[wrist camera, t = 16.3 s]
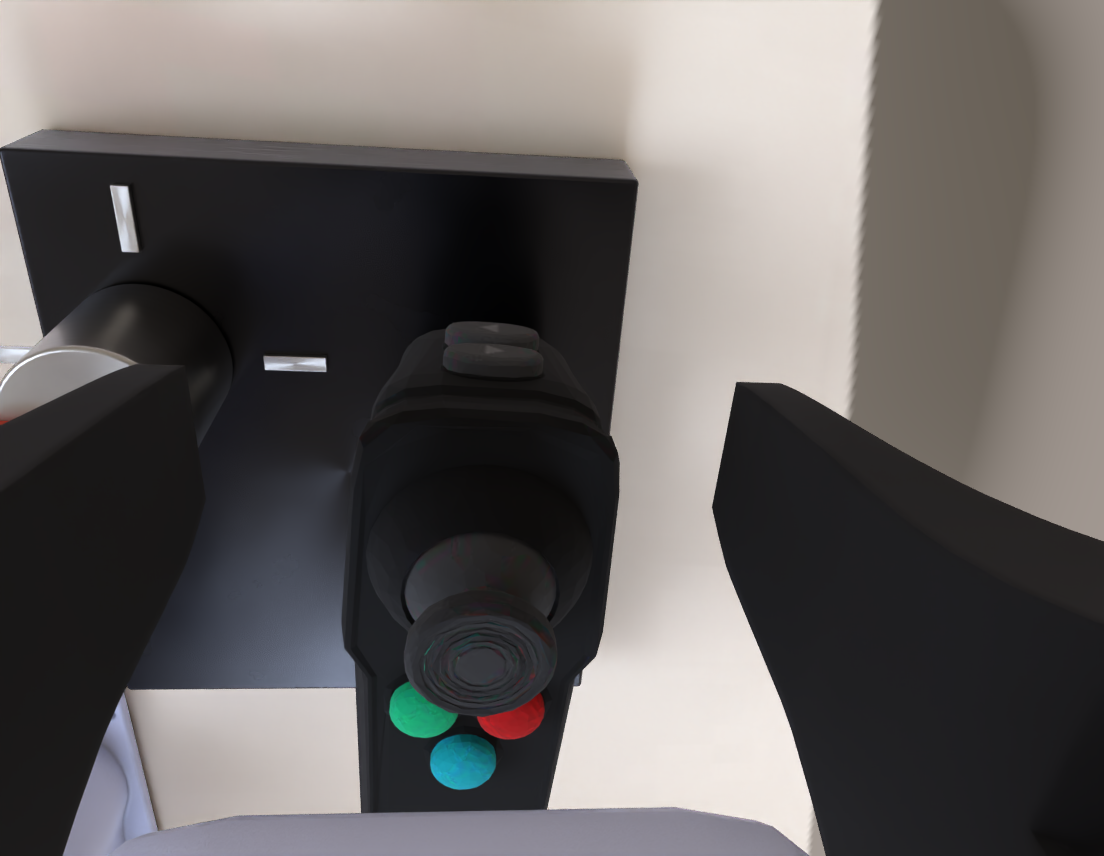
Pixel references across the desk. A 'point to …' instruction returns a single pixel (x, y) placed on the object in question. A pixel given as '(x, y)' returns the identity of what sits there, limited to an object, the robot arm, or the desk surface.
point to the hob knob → (124, 350)
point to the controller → (474, 569)
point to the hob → (312, 335)
